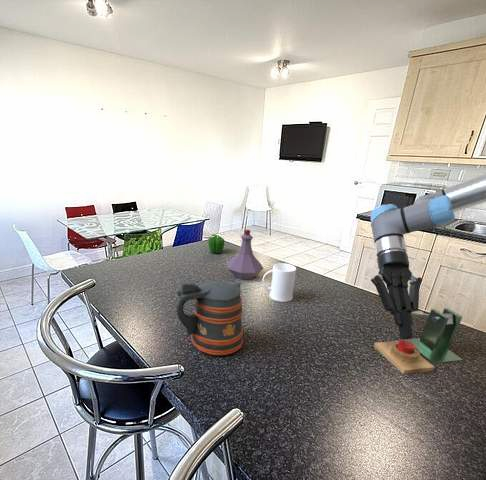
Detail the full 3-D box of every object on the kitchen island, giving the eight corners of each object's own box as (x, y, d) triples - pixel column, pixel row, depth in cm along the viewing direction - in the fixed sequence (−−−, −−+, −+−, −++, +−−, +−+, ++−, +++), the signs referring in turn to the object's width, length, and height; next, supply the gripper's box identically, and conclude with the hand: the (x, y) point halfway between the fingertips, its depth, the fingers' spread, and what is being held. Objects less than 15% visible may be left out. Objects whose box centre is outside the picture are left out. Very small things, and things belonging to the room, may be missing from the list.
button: (405, 345, 78) (407, 339, 77) (416, 353, 75) (418, 348, 74) (393, 346, 77) (395, 340, 77) (403, 354, 74) (405, 349, 73)
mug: (261, 301, 106) (264, 270, 101) (259, 290, 114) (262, 261, 109) (294, 302, 105) (299, 272, 100) (290, 292, 113) (294, 263, 108)
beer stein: (191, 369, 72) (191, 298, 64) (169, 338, 84) (166, 275, 76) (253, 347, 81) (259, 282, 73) (224, 321, 93) (227, 263, 85)
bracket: (402, 342, 85) (416, 304, 80) (429, 340, 86) (444, 302, 81) (431, 366, 76) (448, 324, 70) (461, 363, 77) (480, 322, 72)
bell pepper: (224, 250, 158) (225, 232, 154) (223, 255, 150) (224, 236, 146) (209, 249, 159) (209, 231, 155) (207, 254, 151) (207, 235, 147)
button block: (399, 346, 83) (403, 335, 81) (432, 374, 73) (437, 361, 71) (372, 349, 82) (376, 337, 80) (402, 377, 72) (406, 364, 70)
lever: (401, 318, 87) (401, 310, 87) (419, 317, 87) (419, 309, 87) (439, 324, 75) (439, 315, 75) (459, 323, 75) (459, 314, 75)
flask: (259, 285, 118) (264, 237, 110) (220, 279, 123) (222, 233, 115) (265, 270, 132) (270, 227, 124) (230, 265, 137) (232, 223, 129)
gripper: (406, 261, 87) (423, 341, 78) (362, 259, 87) (373, 339, 79) (423, 250, 80) (443, 337, 71) (374, 248, 80) (388, 334, 72)
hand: (406, 338), depth 75 cm, fingers closed
